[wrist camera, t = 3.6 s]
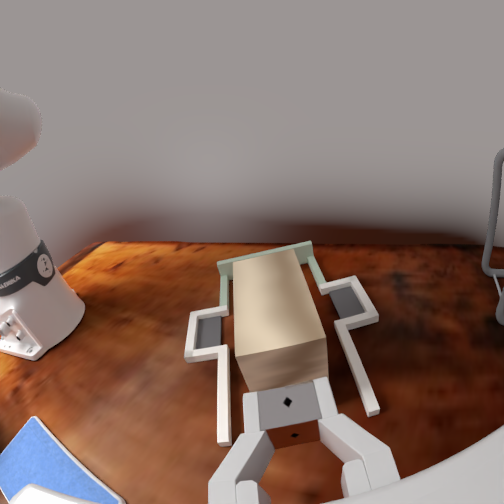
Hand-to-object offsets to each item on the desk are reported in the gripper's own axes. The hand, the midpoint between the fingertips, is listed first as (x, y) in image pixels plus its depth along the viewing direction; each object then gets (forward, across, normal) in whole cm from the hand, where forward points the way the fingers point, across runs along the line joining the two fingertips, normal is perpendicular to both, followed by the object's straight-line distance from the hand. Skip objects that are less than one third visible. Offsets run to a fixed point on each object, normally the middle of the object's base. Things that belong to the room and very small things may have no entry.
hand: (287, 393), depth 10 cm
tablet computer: (-2, +27, +16) cm, 32 cm away
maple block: (+13, 0, +15) cm, 20 cm away
